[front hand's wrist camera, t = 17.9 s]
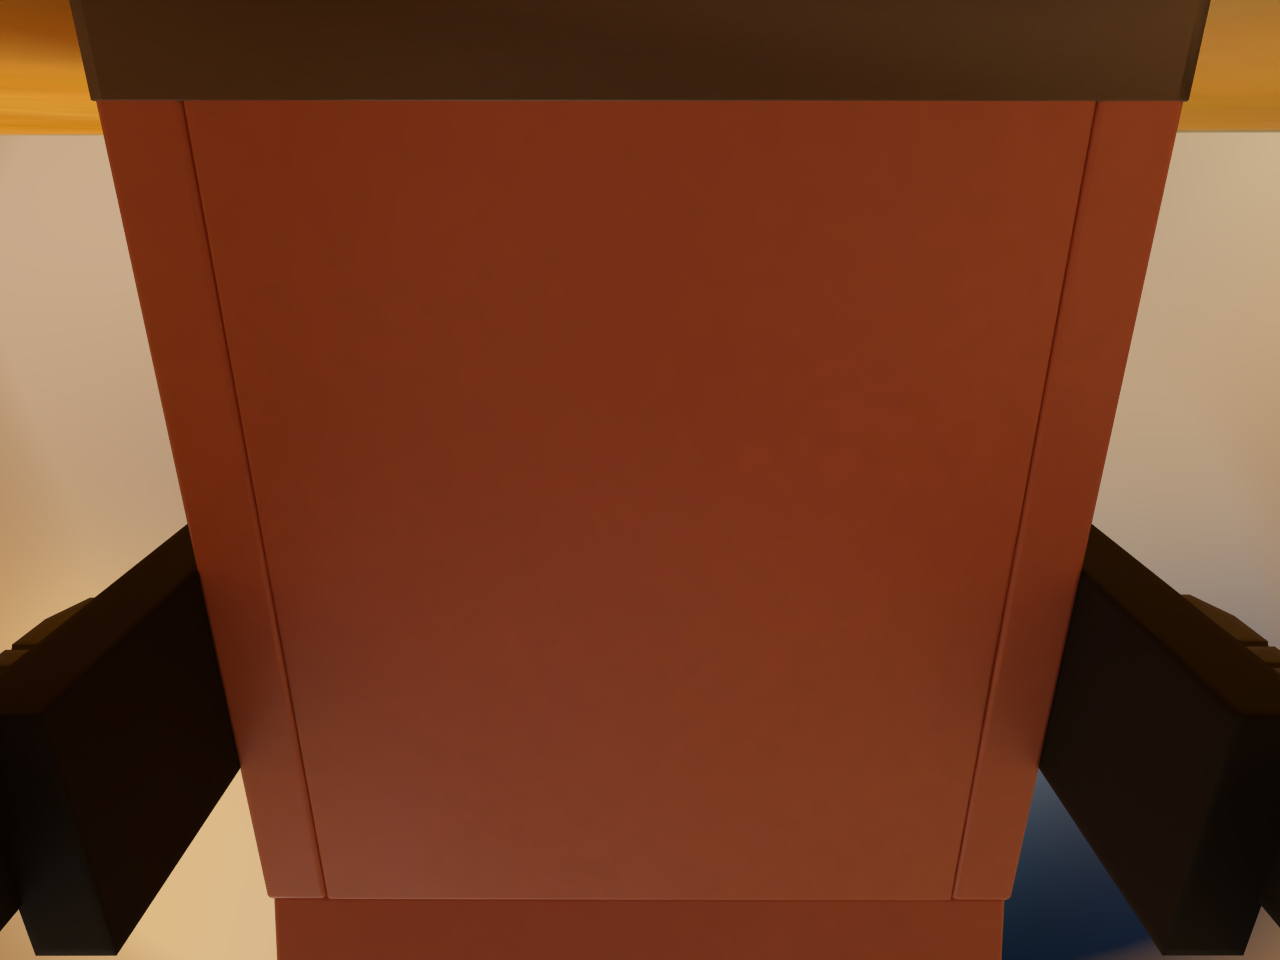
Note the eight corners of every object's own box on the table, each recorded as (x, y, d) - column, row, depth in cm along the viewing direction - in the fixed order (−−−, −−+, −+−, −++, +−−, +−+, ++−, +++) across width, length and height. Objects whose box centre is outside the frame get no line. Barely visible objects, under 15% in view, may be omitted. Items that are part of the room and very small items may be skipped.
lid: (795, 609, 26) (789, 884, 27) (485, 608, 26) (490, 883, 27) (1007, 897, 11) (978, 1499, 12) (272, 895, 11) (299, 1496, 12)
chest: (840, 100, 20) (808, 496, 24) (441, 100, 20) (472, 495, 24) (1217, -21, 7) (1013, 902, 11) (63, -22, 7) (265, 901, 11)
